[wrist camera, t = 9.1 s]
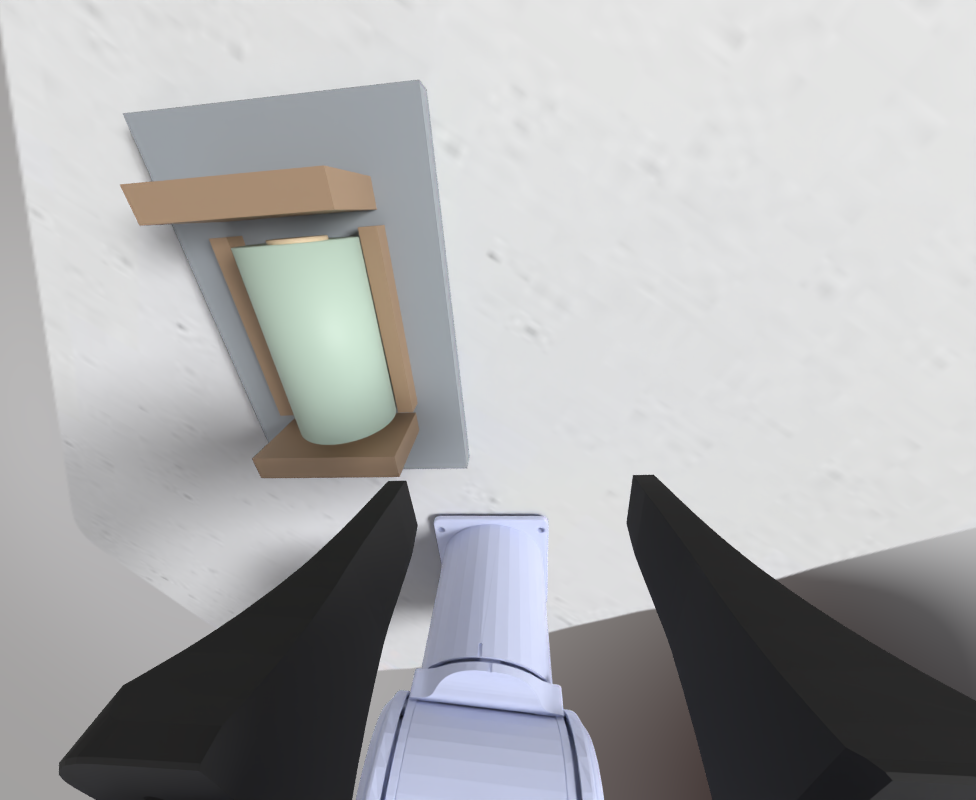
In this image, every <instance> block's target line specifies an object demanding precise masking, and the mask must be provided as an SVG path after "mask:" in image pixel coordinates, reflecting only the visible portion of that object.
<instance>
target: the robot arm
mask: <svg viewBox="0 0 976 800" xmlns="http://www.w3.org/2000/svg"><path fill="white" fill-rule="evenodd" d="M417 526H418V525H417V521H416V517H415V513H414V509H413V505H412V501H411V498H410V494H409V490H408V486H407V482H406V481H388V482H387V483H386V484H385V485H384V486H383V487H382V488H381V489H380V490H379V491H378V492H377V493H376V495H375V496H374V497H373V498H372V499H371V500H370V501H369V502H368V503H367V504H366V505H365V506H364V507H363V508H362V509H361V510H360V511H359V512H358V514H357V515H356V516H355V517H354V518H353V519H352V520H351V521H350V522H349V523H348V524H347V525H346V526H345V527H344V528H343V529H342V530H341V531H340V532H339V533H338V534H337V535H336V536H335V537H333V538H332V539H331V540H330V541H329V542H328V543H327V544H326V545H325V546H324V547H323V548H322V549H321V550H320V551H319V552H318V553H317V554H315V555H314V556H313V557H312V558H311V559H310V560H309V561H308V562H306V563H305V564H304V565H303V566H302V567H301V568H299V569H298V570H297V571H296V572H294V573H293V574H292V575H291V576H290V577H288V578H287V579H286V580H285V581H283V582H282V583H281V584H280V585H278V586H277V587H276V588H274V589H273V590H272V591H270V592H269V593H268V594H266V595H265V596H263V597H262V598H261V599H259V600H258V601H257V602H255V603H254V604H253V605H251V606H250V607H248V608H247V609H246V610H244V611H243V612H242V613H240V614H239V615H237V616H236V617H234V618H233V619H231V620H230V621H228V622H227V623H225V624H224V625H223V626H221V627H220V628H218V629H217V630H215V631H213V632H212V633H210V634H209V635H207V636H206V637H204V638H203V639H201V640H200V641H198V642H196V643H195V644H193V645H191V646H190V647H188V648H187V649H185V650H183V651H182V652H180V653H179V654H177V655H175V656H173V657H171V658H170V659H168V660H166V661H165V662H163V663H161V664H160V665H158V666H156V667H154V668H153V669H151V670H149V671H148V672H146V673H144V674H142V675H141V676H139V677H137V678H135V679H134V680H132V681H130V682H128V683H126V684H125V685H123V686H122V688H121V689H120V690H119V691H118V692H117V693H116V695H115V696H114V697H113V698H112V700H111V701H110V702H109V703H108V704H107V706H106V707H105V708H104V709H103V710H102V712H101V713H100V714H99V715H98V717H97V718H96V719H95V720H94V722H93V723H92V724H91V725H90V726H89V727H88V729H87V730H86V731H85V732H84V734H83V735H82V736H81V737H80V738H79V740H78V741H77V742H76V743H75V745H74V746H73V747H72V748H71V749H70V751H69V752H68V753H67V754H66V756H65V757H64V758H63V759H62V760H61V762H60V763H59V775H60V776H61V778H62V779H63V780H64V781H65V782H67V783H68V784H70V785H71V786H73V787H74V788H76V789H78V790H80V791H81V792H83V793H85V794H87V795H88V796H90V797H92V798H94V799H96V800H352V797H353V790H354V785H355V779H356V774H357V768H358V763H359V757H360V752H361V747H362V742H363V737H364V731H365V726H366V721H367V716H368V712H369V706H370V702H371V697H372V693H373V688H374V683H375V679H376V674H377V670H378V666H379V662H380V657H381V653H382V649H383V644H384V641H385V637H386V634H387V630H388V627H389V624H390V621H391V618H392V614H393V611H394V608H395V605H396V602H397V599H398V596H399V593H400V590H401V587H402V584H403V581H404V578H405V575H406V572H407V569H408V566H409V562H410V559H411V556H412V551H413V547H414V542H415V537H416V531H417ZM441 527H443V528H441ZM627 527H628V531H629V535H630V539H631V543H632V546H633V550H634V554H635V557H636V559H637V562H638V565H639V567H640V570H641V572H642V575H643V577H644V580H645V583H646V585H647V588H648V590H649V593H650V595H651V598H652V600H653V603H654V605H655V608H656V610H657V613H658V616H659V618H660V621H661V623H662V625H663V628H664V631H665V634H666V636H667V639H668V642H669V645H670V648H671V650H672V654H673V658H674V661H675V664H676V667H677V671H678V674H679V678H680V681H681V685H682V688H683V691H684V694H685V699H686V702H687V706H688V709H689V713H690V716H691V720H692V724H693V727H694V730H695V734H696V738H697V742H698V746H699V750H700V754H701V757H702V761H703V765H704V769H705V773H706V777H707V780H708V784H709V788H710V792H711V796H712V800H976V701H975V700H973V699H971V698H969V697H968V696H966V695H964V694H962V693H960V692H958V691H956V690H955V689H953V688H951V687H949V686H947V685H945V684H943V683H941V682H940V681H938V680H936V679H934V678H932V677H930V676H928V675H926V674H925V673H923V672H921V671H919V670H918V669H916V668H914V667H912V666H911V665H909V664H907V663H905V662H904V661H902V660H900V659H898V658H897V657H895V656H893V655H892V654H890V653H888V652H886V651H885V650H883V649H881V648H880V647H878V646H876V645H875V644H873V643H871V642H869V641H868V640H866V639H865V638H863V637H861V636H860V635H858V634H856V633H855V632H853V631H851V630H850V629H848V628H847V627H845V626H843V625H842V624H840V623H839V622H837V621H836V620H834V619H832V618H831V617H829V616H828V615H826V614H825V613H823V612H822V611H820V610H819V609H817V608H816V607H814V606H813V605H811V604H809V603H808V602H806V601H805V600H804V599H802V598H801V597H799V596H798V595H796V594H795V593H793V592H792V591H790V590H789V589H787V588H786V587H785V586H783V585H782V584H781V583H779V582H778V581H777V580H775V579H774V578H772V577H771V576H770V575H768V574H767V573H766V572H764V571H763V570H761V569H760V568H759V567H757V566H756V565H755V564H754V563H752V562H751V561H750V560H748V559H747V558H746V557H745V556H743V555H742V554H741V553H740V552H738V551H737V550H736V549H735V548H734V547H732V546H731V545H730V544H729V543H727V542H726V541H725V540H724V539H723V538H721V537H720V536H719V535H718V534H717V533H716V532H714V531H713V530H712V529H711V528H710V527H709V526H708V525H707V524H706V523H704V522H703V521H702V520H701V519H700V518H699V517H698V516H697V515H696V514H694V513H693V512H692V511H691V510H690V509H689V508H688V507H687V506H686V505H685V504H684V503H683V502H682V501H681V500H680V499H678V498H677V497H676V496H675V495H674V494H673V493H672V492H671V491H670V490H669V489H668V488H667V487H666V486H665V485H664V484H663V483H662V482H661V481H660V480H659V479H658V478H657V477H655V476H654V475H633V479H632V487H631V494H630V502H629V509H628V516H627ZM434 529H435V534H436V539H437V544H438V549H439V554H440V559H441V564H442V569H441V574H440V579H439V584H438V589H437V594H436V599H435V604H434V608H433V613H432V618H431V623H430V628H429V633H428V638H427V643H426V648H425V653H424V658H423V663H422V668H417V669H416V670H415V673H414V678H413V682H412V687H411V692H410V691H406V690H400V691H398V692H397V693H396V694H395V695H394V697H393V698H392V699H391V700H390V701H389V702H388V703H387V704H386V705H385V706H384V708H383V709H382V711H381V713H380V716H379V718H378V721H377V723H376V726H375V729H374V732H373V735H372V738H371V741H370V745H369V748H368V752H367V755H366V759H365V763H364V767H363V770H362V774H361V778H360V783H359V787H358V791H357V796H356V800H604V797H603V789H602V783H601V777H600V771H599V766H598V762H597V757H596V753H595V750H594V746H593V743H592V740H591V738H590V736H589V734H588V732H587V730H586V729H585V727H584V726H583V725H582V723H581V721H580V719H579V717H578V716H577V714H576V713H575V712H573V711H572V710H566V709H563V700H562V691H561V686H560V685H557V684H552V673H551V661H550V648H549V636H548V623H547V611H546V602H547V577H548V519H547V518H546V517H544V516H437V517H436V518H435V519H434Z"/></svg>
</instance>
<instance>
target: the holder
mask: <svg viewBox="0 0 976 800" xmlns="http://www.w3.org/2000/svg"><path fill="white" fill-rule="evenodd" d="M123 115H124V118H125V120H126V122H127V124H128V127H129V129H130V131H131V133H132V136H133V138H134V140H135V142H136V145H137V147H138V149H139V151H140V154H141V156H142V158H143V160H144V163H145V165H146V167H147V170H148V172H149V174H150V176H151V179H152V181H153V182H142V183H132V184H121V185H120V186H121V188H122V190H123V192H124V194H125V196H126V198H127V201H128V203H129V205H130V207H131V209H132V211H133V213H134V215H135V217H136V219H137V221H138V223H139V225H163V224H172V226H173V228H174V230H175V233H176V235H177V237H178V239H179V242H180V244H181V246H182V249H183V251H184V253H185V255H186V258H187V260H188V262H189V264H190V267H191V269H192V271H193V273H194V276H195V278H196V280H197V282H198V285H199V287H200V289H201V291H202V294H203V296H204V298H205V300H206V303H207V305H208V307H209V309H210V312H211V314H212V316H213V319H214V321H215V323H216V325H217V328H218V330H219V332H220V334H221V337H222V339H223V341H224V343H225V346H226V348H227V350H228V352H229V355H230V357H231V359H232V361H233V364H234V366H235V368H236V370H237V373H238V375H239V377H240V379H241V382H242V384H243V386H244V389H245V391H246V393H247V395H248V398H249V400H250V402H251V404H252V407H253V409H254V411H255V413H256V416H257V418H258V420H259V422H260V425H261V427H262V429H263V431H264V434H265V436H266V438H267V440H268V444H267V445H266V446H265V447H264V448H263V449H262V450H261V451H260V452H259V453H258V454H257V455H256V456H254V457H253V458H252V460H253V462H254V464H255V466H256V468H257V470H258V472H259V474H260V476H261V478H337V477H400V474H401V472H402V470H403V469H447V468H467V466H468V461H469V449H468V440H467V432H466V423H465V415H464V406H463V398H462V389H461V380H460V372H459V363H458V355H457V346H456V338H455V329H454V320H453V312H452V303H451V295H450V286H449V278H448V269H447V261H446V252H445V243H444V235H443V226H442V218H441V209H440V201H439V192H438V184H437V175H436V166H435V158H434V149H433V141H432V132H431V124H430V115H429V106H428V98H427V89H426V88H425V87H424V85H423V84H422V83H421V81H420V80H411V81H403V82H394V83H385V84H377V85H368V86H359V87H350V88H342V89H333V90H324V91H315V92H307V93H298V94H289V95H281V96H272V97H263V98H254V99H246V100H237V101H228V102H219V103H211V104H202V105H193V106H185V107H176V108H167V109H158V110H150V111H141V112H132V113H124V114H123ZM318 235H328V238H332V237H354V236H355V237H359V240H360V245H361V249H362V254H363V259H364V263H365V268H366V272H367V277H368V282H369V286H370V291H371V295H372V300H373V305H374V309H375V314H376V318H377V323H378V328H379V332H380V337H381V342H382V346H383V351H384V355H385V360H386V365H387V369H388V374H389V378H390V383H391V388H392V392H393V397H394V401H395V406H396V415H395V417H394V418H393V420H392V421H391V422H390V423H389V424H388V425H387V426H386V427H384V428H383V429H381V430H380V431H378V432H376V433H374V434H372V435H370V436H368V437H365V438H363V439H360V440H357V441H353V442H349V443H343V444H336V445H321V444H315V443H311V442H309V441H307V440H305V439H304V438H303V437H302V435H301V432H300V430H299V427H298V424H297V422H296V419H295V416H294V414H293V411H292V409H291V406H290V403H289V401H288V398H287V395H286V393H285V390H284V387H283V385H282V382H281V380H280V377H279V374H278V372H277V369H276V366H275V364H274V361H273V358H272V356H271V353H270V351H269V348H268V345H267V343H266V340H265V337H264V335H263V332H262V329H261V327H260V324H259V322H258V319H257V316H256V314H255V311H254V308H253V306H252V303H251V300H250V298H249V295H248V293H247V290H246V287H245V285H244V282H243V279H242V277H241V274H240V271H239V269H238V266H237V264H236V261H235V258H234V256H233V253H232V250H231V248H233V247H239V246H246V245H254V244H263V243H266V241H265V240H272V239H281V238H292V237H304V236H318Z"/></svg>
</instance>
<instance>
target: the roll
mask: <svg viewBox="0 0 976 800" xmlns="http://www.w3.org/2000/svg"><path fill="white" fill-rule="evenodd" d="M265 241H266V243H263V244H254V245H246V246H239V247H233V248H231V250H232V253H233V256H234V258H235V261H236V264H237V266H238V269H239V271H240V274H241V277H242V279H243V282H244V285H245V287H246V290H247V293H248V295H249V298H250V300H251V303H252V306H253V308H254V311H255V314H256V316H257V319H258V322H259V324H260V327H261V329H262V332H263V335H264V337H265V340H266V343H267V345H268V348H269V351H270V353H271V356H272V358H273V361H274V364H275V366H276V369H277V372H278V374H279V377H280V380H281V382H282V385H283V387H284V390H285V393H286V395H287V398H288V401H289V403H290V406H291V409H292V411H293V414H294V416H295V419H296V422H297V424H298V427H299V430H300V432H301V435H302V437H303V438H304V439H305V440H307V441H309V442H311V443H315V444H321V445H336V444H343V443H349V442H353V441H357V440H360V439H363V438H365V437H368V436H370V435H372V434H374V433H376V432H378V431H380V430H381V429H383V428H384V427H386V426H387V425H388V424H389V423H390V422H391V421H392V420H393V418H394V417H395V415H396V406H395V401H394V397H393V392H392V388H391V383H390V378H389V374H388V369H387V365H386V360H385V355H384V351H383V346H382V342H381V337H380V332H379V328H378V323H377V318H376V314H375V309H374V305H373V300H372V295H371V291H370V286H369V282H368V277H367V272H366V268H365V263H364V259H363V254H362V249H361V245H360V240H359V237H355V236H354V237H332V238H328V235H318V236H304V237H292V238H281V239H272V240H265Z"/></svg>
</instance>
